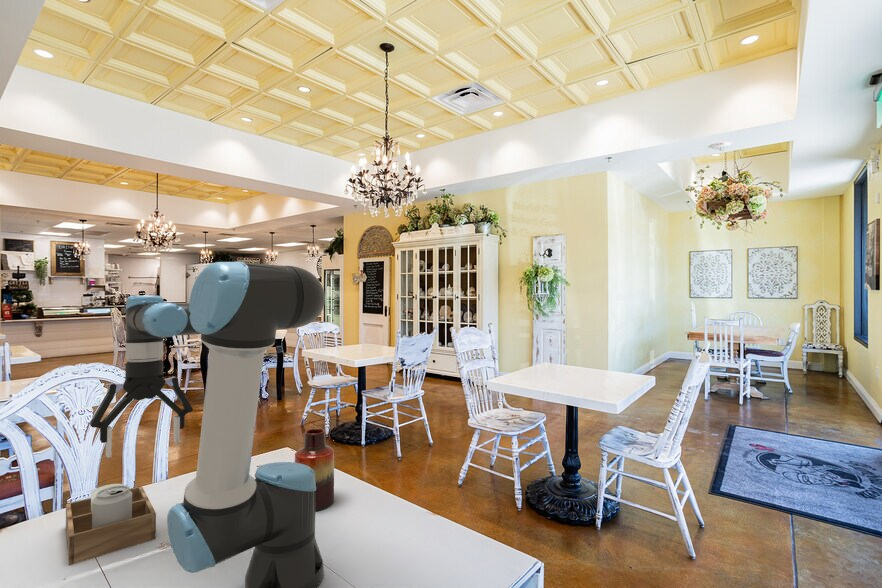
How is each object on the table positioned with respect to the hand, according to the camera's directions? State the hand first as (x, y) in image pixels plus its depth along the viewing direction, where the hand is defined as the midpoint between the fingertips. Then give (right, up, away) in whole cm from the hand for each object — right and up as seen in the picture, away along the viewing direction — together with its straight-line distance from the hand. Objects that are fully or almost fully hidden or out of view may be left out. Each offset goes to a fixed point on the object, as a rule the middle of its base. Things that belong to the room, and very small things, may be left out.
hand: (144, 449), depth 104 cm
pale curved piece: (-12, -21, +5) cm, 25 cm away
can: (-6, -21, -2) cm, 22 cm away
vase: (+35, -22, +19) cm, 46 cm away
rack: (-9, -22, +1) cm, 24 cm away
